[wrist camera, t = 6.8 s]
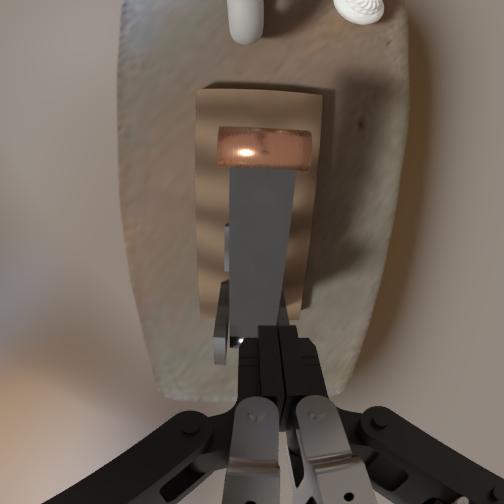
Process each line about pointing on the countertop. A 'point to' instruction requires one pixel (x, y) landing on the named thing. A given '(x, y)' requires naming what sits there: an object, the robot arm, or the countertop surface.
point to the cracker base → (217, 196)
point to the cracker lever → (259, 218)
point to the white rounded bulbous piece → (360, 10)
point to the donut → (246, 20)
